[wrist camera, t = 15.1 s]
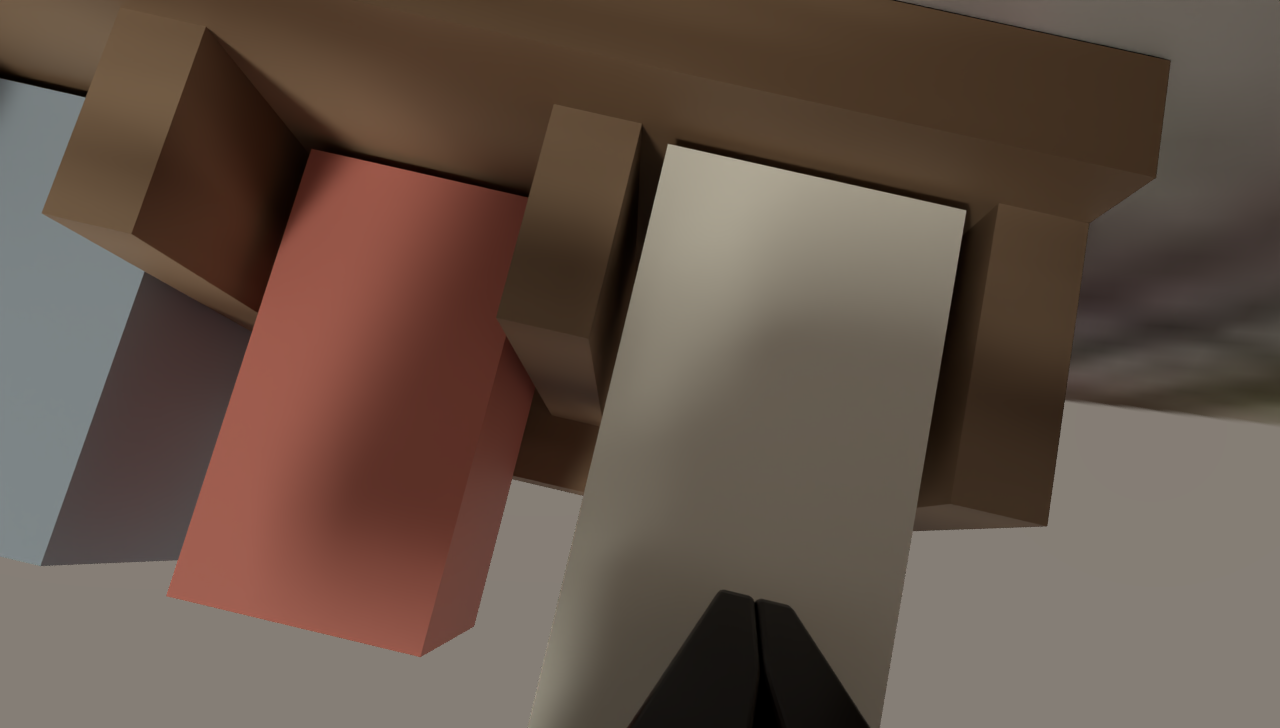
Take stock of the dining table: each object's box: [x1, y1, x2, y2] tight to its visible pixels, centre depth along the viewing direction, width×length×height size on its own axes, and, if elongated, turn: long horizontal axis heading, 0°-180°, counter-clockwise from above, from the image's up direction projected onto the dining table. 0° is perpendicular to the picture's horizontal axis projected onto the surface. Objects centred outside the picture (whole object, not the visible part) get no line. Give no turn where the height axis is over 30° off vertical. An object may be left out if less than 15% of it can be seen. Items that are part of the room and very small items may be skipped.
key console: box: [0, 0, 1171, 531], centre depth 16 cm, size 12×19×6 cm, turn 89°
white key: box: [527, 144, 966, 728], centre depth 14 cm, size 5×4×8 cm
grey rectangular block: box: [0, 78, 252, 566], centre depth 17 cm, size 5×4×8 cm
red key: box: [167, 149, 535, 657], centre depth 17 cm, size 5×4×8 cm
